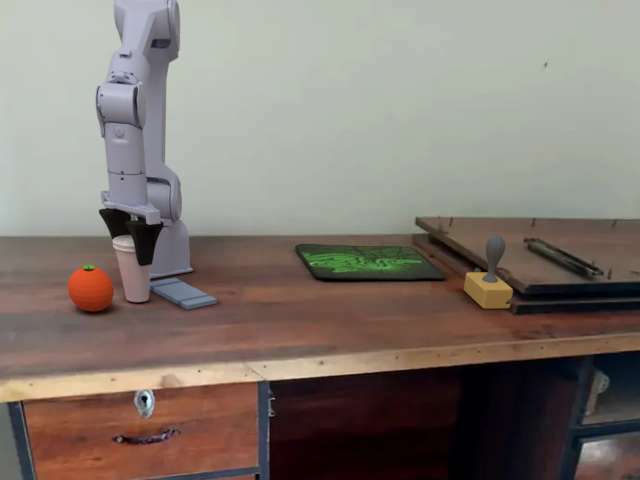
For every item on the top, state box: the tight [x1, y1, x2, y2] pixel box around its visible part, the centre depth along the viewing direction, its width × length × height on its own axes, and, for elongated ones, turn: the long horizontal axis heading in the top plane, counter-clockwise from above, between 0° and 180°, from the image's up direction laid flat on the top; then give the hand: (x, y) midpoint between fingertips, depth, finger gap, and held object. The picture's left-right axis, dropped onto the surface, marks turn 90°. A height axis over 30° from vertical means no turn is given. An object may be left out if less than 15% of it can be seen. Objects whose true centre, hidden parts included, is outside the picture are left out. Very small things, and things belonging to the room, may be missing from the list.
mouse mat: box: [294, 243, 447, 281], centre depth 159 cm, size 27×22×1 cm
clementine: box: [67, 264, 115, 313], centre depth 124 cm, size 8×7×7 cm
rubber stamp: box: [463, 234, 514, 309], centre depth 144 cm, size 10×6×12 cm, turn 16°
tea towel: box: [149, 277, 218, 311], centre depth 134 cm, size 6×13×1 cm, turn 45°
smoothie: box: [112, 215, 151, 303], centre depth 127 cm, size 6×6×14 cm
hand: (134, 259), depth 127 cm, fingers closed on smoothie, 6 cm apart
